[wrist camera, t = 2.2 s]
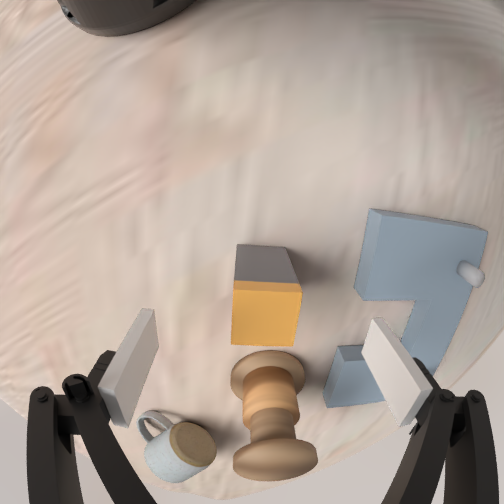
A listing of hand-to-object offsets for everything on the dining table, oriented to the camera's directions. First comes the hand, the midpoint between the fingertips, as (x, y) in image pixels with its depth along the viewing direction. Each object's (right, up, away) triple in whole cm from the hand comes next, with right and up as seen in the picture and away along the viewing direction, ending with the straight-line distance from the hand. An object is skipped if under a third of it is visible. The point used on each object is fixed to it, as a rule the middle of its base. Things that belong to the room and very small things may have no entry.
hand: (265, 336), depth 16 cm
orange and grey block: (0, +4, +8) cm, 9 cm away
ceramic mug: (-12, -20, +17) cm, 29 cm away
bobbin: (+1, -9, +13) cm, 16 cm away
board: (+15, -2, +11) cm, 19 cm away
